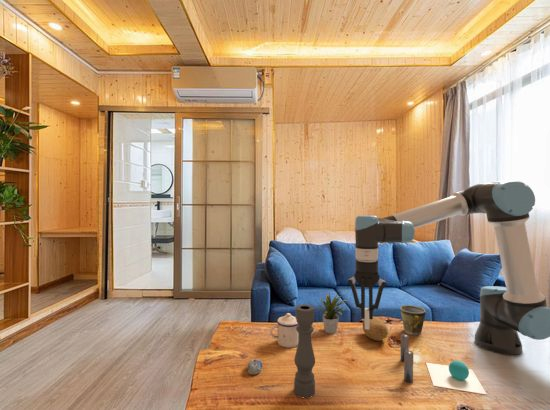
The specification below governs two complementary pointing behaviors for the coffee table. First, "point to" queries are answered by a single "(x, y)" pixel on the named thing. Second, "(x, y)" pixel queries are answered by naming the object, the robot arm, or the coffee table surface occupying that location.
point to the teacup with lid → (286, 331)
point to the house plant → (331, 313)
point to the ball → (458, 370)
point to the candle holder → (304, 352)
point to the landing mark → (453, 379)
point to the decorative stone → (254, 366)
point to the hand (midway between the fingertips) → (367, 327)
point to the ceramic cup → (412, 319)
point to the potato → (376, 329)
